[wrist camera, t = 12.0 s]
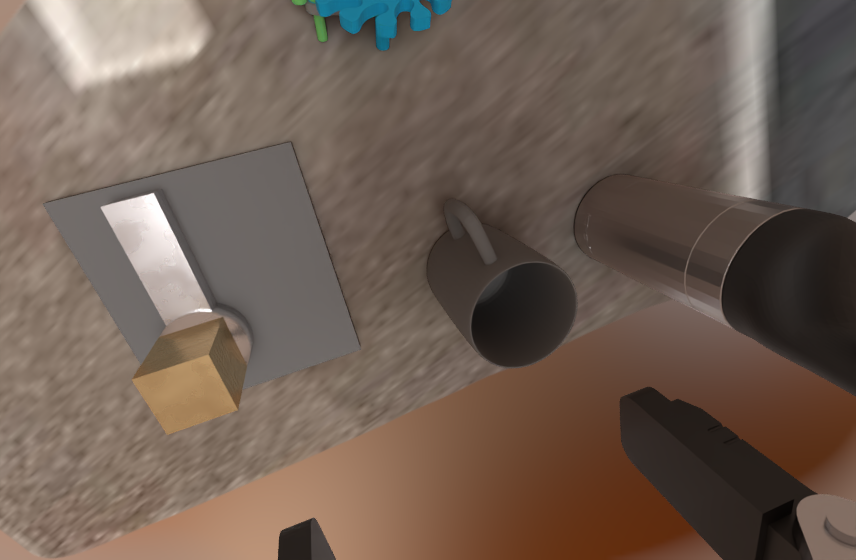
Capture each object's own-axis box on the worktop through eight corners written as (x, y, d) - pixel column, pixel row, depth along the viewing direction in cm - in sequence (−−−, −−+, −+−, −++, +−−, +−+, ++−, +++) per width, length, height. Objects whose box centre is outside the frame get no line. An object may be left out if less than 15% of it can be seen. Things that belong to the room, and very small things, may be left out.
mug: (523, 277, 45) (594, 329, 34) (449, 322, 44) (497, 390, 33) (470, 160, 38) (535, 178, 28) (384, 212, 38) (416, 251, 27)
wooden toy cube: (223, 316, 34) (208, 354, 29) (247, 366, 36) (237, 409, 31) (158, 336, 34) (131, 379, 28) (187, 386, 36) (167, 434, 30)
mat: (290, 141, 34) (290, 141, 33) (360, 346, 42) (360, 349, 42) (47, 202, 31) (42, 203, 31) (172, 409, 39) (170, 413, 39)
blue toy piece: (445, -80, 30) (467, 15, 26) (438, 2, 36) (455, 91, 32) (285, -82, 29) (283, 17, 25) (303, 4, 34) (303, 97, 30)
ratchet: (184, 182, 32) (164, 195, 28) (264, 357, 39) (259, 392, 34) (87, 207, 31) (47, 225, 26) (186, 383, 38) (169, 423, 33)
